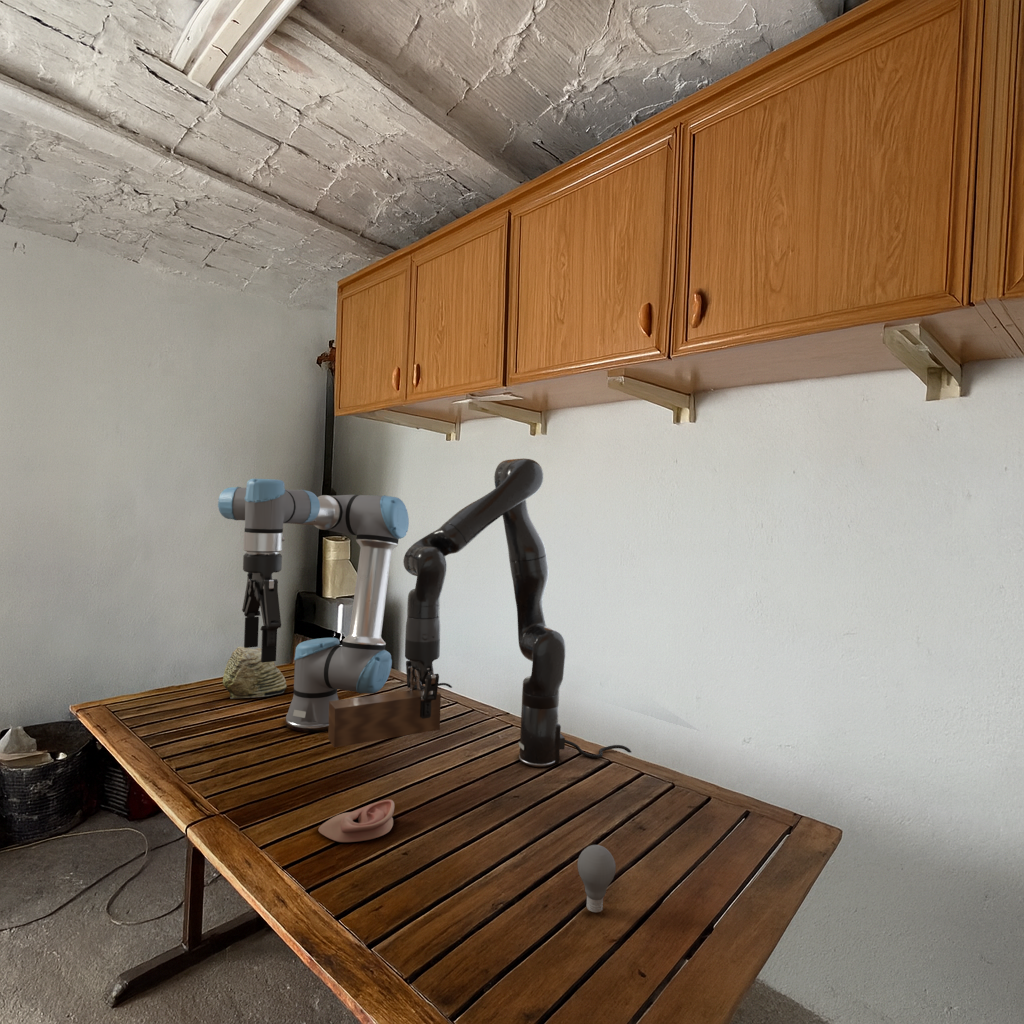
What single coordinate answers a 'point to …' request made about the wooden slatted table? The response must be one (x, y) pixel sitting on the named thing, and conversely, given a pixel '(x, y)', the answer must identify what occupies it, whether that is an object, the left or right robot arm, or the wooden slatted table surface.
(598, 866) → the light bulb
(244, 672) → the fossil
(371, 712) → the bar
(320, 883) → the wooden slatted table surface
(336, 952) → the wooden slatted table surface
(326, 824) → the anatomical model
